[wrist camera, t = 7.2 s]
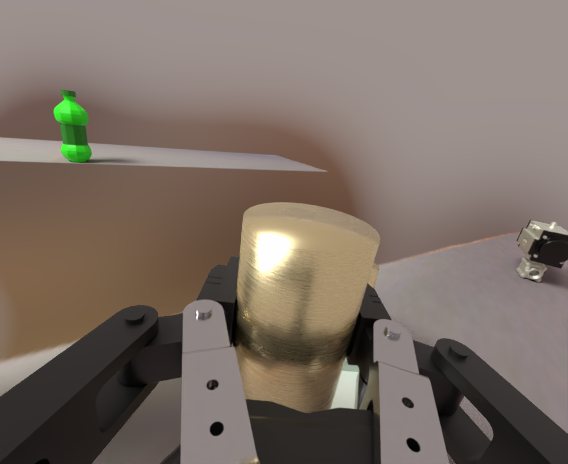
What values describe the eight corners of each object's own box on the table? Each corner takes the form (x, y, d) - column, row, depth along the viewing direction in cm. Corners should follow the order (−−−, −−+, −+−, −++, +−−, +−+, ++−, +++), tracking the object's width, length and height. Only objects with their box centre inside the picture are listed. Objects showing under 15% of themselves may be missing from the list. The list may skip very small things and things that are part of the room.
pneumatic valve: (532, 269, 61) (558, 218, 57) (551, 293, 51) (585, 234, 47) (502, 261, 63) (525, 212, 59) (515, 283, 53) (544, 225, 49)
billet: (214, 476, 11) (232, 241, 7) (233, 376, 15) (250, 196, 11) (328, 485, 11) (403, 262, 7) (315, 384, 15) (358, 211, 11)
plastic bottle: (57, 159, 107) (45, 87, 98) (88, 158, 115) (80, 92, 106) (66, 163, 102) (54, 88, 93) (98, 163, 110) (90, 93, 101)
